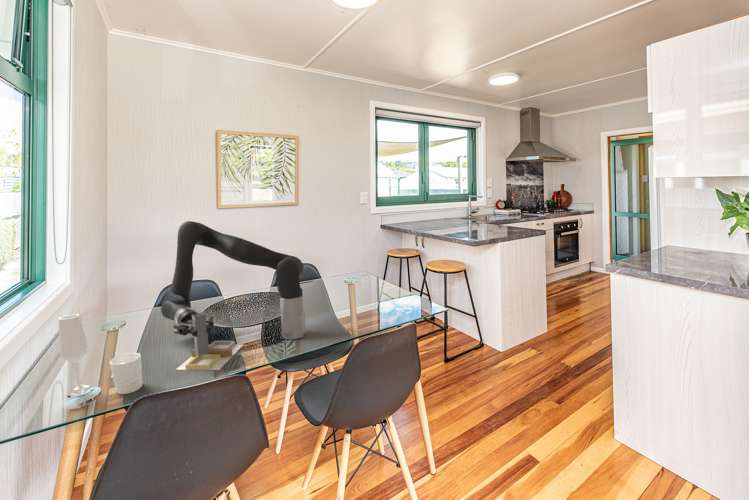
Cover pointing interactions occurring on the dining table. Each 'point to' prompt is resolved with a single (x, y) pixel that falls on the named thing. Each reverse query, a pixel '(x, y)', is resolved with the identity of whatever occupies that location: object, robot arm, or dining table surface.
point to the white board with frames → (212, 356)
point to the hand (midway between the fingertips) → (202, 332)
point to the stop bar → (200, 334)
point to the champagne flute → (73, 343)
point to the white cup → (127, 372)
